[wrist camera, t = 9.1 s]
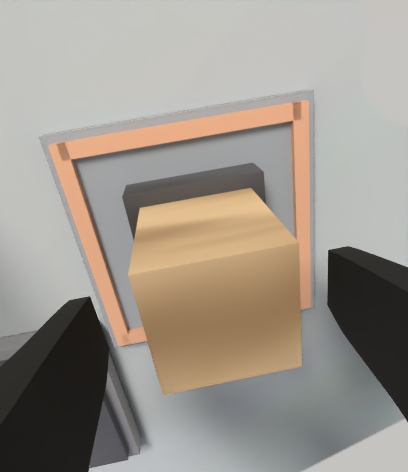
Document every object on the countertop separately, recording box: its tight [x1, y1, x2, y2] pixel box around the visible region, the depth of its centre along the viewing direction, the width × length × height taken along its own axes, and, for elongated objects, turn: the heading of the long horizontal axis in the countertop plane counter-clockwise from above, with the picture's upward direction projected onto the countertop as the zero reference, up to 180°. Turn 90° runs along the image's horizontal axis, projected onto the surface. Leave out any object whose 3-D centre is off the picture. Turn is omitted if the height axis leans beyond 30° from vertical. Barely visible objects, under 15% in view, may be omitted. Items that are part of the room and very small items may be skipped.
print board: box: [39, 90, 314, 348], centre depth 14 cm, size 10×10×1 cm
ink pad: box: [0, 331, 141, 468], centre depth 17 cm, size 9×9×2 cm
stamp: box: [122, 163, 302, 395], centre depth 11 cm, size 5×5×6 cm
